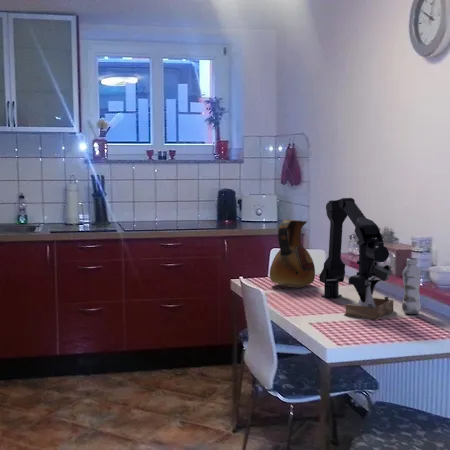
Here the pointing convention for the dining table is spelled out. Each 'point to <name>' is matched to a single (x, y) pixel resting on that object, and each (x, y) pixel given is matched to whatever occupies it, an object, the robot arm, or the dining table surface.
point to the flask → (367, 298)
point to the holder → (371, 309)
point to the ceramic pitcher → (292, 257)
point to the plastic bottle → (411, 287)
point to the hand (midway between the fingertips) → (366, 300)
